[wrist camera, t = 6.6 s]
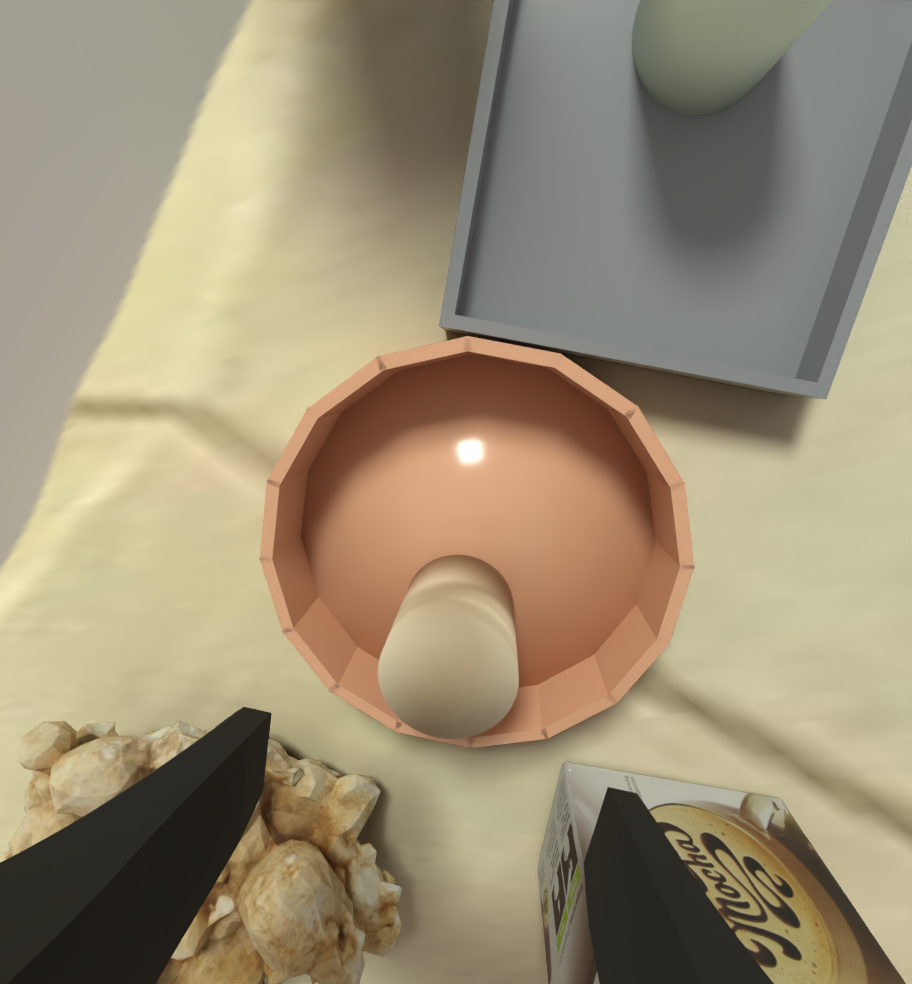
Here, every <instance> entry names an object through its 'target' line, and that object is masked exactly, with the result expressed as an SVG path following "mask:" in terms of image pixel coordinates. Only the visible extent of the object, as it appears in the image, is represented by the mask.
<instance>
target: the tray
mask: <svg viewBox="0 0 912 984" xmlns="http://www.w3.org/2000/svg"><path fill="white" fill-rule="evenodd" d="M640 1H641V0H494V3H493V9H492V15H491V21H490V27H489V33H488V39H487V45H486V51H485V57H484V62H483V68H482V74H481V80H480V86H479V92H478V98H477V104H476V110H475V116H474V122H473V128H472V134H471V140H470V146H469V152H468V158H467V163H466V169H465V175H464V181H463V187H462V193H461V199H460V205H459V211H458V217H457V223H456V229H455V235H454V241H453V247H452V253H451V259H450V265H449V270H448V276H447V282H446V288H445V294H444V300H443V306H442V312H441V318H440V324H439V326H440V327H441V328H443V329H444V330H445V331H450V332H455V333H460V334H465V335H471V336H476V337H481V338H487V339H492V340H497V341H503V342H508V343H513V344H518V345H524V346H529V347H534V348H540V349H545V350H550V351H555V352H561V353H566V354H571V355H577V356H582V357H587V358H592V359H598V360H603V361H608V362H614V363H619V364H624V365H629V366H635V367H640V368H645V369H651V370H656V371H661V372H666V373H672V374H677V375H682V376H688V377H693V378H698V379H703V380H709V381H714V382H719V383H725V384H730V385H735V386H741V387H746V388H751V389H756V390H762V391H767V392H772V393H778V394H783V395H788V396H796V397H808V398H820V399H827V396H828V393H829V390H830V388H831V385H832V382H833V379H834V377H835V374H836V371H837V368H838V366H839V363H840V360H841V357H842V355H843V352H844V349H845V347H846V344H847V341H848V338H849V336H850V333H851V330H852V327H853V325H854V322H855V319H856V316H857V314H858V311H859V308H860V305H861V303H862V300H863V297H864V294H865V292H866V289H867V286H868V283H869V281H870V278H871V275H872V273H873V270H874V267H875V264H876V262H877V259H878V256H879V253H880V251H881V248H882V245H883V242H884V240H885V237H886V234H887V231H888V229H889V226H890V223H891V220H892V218H893V215H894V212H895V209H896V207H897V204H898V201H899V199H900V196H901V193H902V190H903V188H904V185H905V182H906V179H907V177H908V174H909V171H910V168H911V166H912V0H832V1H831V2H830V3H829V5H828V6H827V7H826V8H825V9H824V10H823V11H822V12H821V13H820V15H819V16H818V17H817V18H816V19H815V20H814V21H813V22H812V23H811V25H810V26H809V27H808V28H807V29H806V30H805V31H804V32H803V33H802V35H801V36H800V37H799V38H798V39H797V40H796V41H795V42H794V43H793V45H792V46H791V47H790V48H789V49H788V50H787V51H786V52H785V53H784V55H783V56H782V57H781V58H780V59H779V60H778V61H777V62H776V63H775V65H774V66H773V67H772V68H771V69H770V70H769V71H768V72H767V73H766V75H765V76H764V77H763V78H762V79H761V80H760V81H759V82H758V83H757V85H756V86H755V87H754V88H753V89H752V90H751V91H750V92H749V93H748V94H746V95H745V96H744V97H743V98H742V99H740V100H739V101H737V102H736V103H734V104H733V105H731V106H729V107H727V108H725V109H723V110H720V111H717V112H714V113H709V114H704V115H687V114H682V113H678V112H675V111H672V110H670V109H667V108H666V107H664V106H663V105H661V104H659V103H658V102H657V101H656V100H655V99H654V98H653V97H652V96H651V95H650V94H649V93H648V92H647V91H646V89H645V87H644V86H643V84H642V83H641V81H640V78H639V76H638V74H637V71H636V68H635V65H634V60H633V54H632V31H633V25H634V19H635V16H636V12H637V9H638V6H639V4H640Z"/></svg>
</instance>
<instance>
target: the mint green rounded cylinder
mask: <svg viewBox="0 0 912 984" xmlns="http://www.w3.org/2000/svg"><path fill="white" fill-rule="evenodd" d="M831 1H832V0H641V1H640V4H639V6H638V9H637V12H636V16H635V19H634V25H633V31H632V54H633V60H634V65H635V68H636V71H637V74H638V76H639V78H640V81H641V83H642V84H643V86H644V87H645V89H646V91H647V92H648V93H649V94H650V95H651V96H652V97H653V98H654V99H655V100H656V101H657V102H658V103H659V104H661V105H663V106H664V107H666V108H667V109H670V110H672V111H675V112H678V113H682V114H687V115H704V114H709V113H714V112H717V111H720V110H723V109H725V108H727V107H729V106H731V105H733V104H734V103H736V102H737V101H739V100H740V99H742V98H743V97H744V96H745V95H746V94H748V93H749V92H750V91H751V90H752V89H753V88H754V87H755V86H756V85H757V83H758V82H759V81H760V80H761V79H762V78H763V77H764V76H765V75H766V73H767V72H768V71H769V70H770V69H771V68H772V67H773V66H774V65H775V63H776V62H777V61H778V60H779V59H780V58H781V57H782V56H783V55H784V53H785V52H786V51H787V50H788V49H789V48H790V47H791V46H792V45H793V43H794V42H795V41H796V40H797V39H798V38H799V37H800V36H801V35H802V33H803V32H804V31H805V30H806V29H807V28H808V27H809V26H810V25H811V23H812V22H813V21H814V20H815V19H816V18H817V17H818V16H819V15H820V13H821V12H822V11H823V10H824V9H825V8H826V7H827V6H828V5H829V3H830V2H831Z"/></svg>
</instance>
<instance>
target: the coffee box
mask: <svg viewBox="0 0 912 984" xmlns="http://www.w3.org/2000/svg"><path fill="white" fill-rule="evenodd" d="M608 787H611V788H615V789H620V790H624V791H629V792H633V793H637V794H638V795H639V797H640V798H641V800H642V801H643V803H644V804H645V805H646V807H647V808H648V810H649V811H650V813H651V814H652V816H653V817H654V819H655V820H656V822H657V823H658V825H659V826H660V828H661V829H662V831H663V832H664V834H665V835H666V837H667V838H668V840H669V841H670V843H671V844H672V846H673V847H674V849H675V850H676V852H677V853H678V855H679V856H680V858H681V859H682V860H683V862H684V863H685V865H686V866H687V868H688V869H689V871H690V872H691V873H692V875H693V876H694V878H695V879H696V881H697V882H698V883H699V885H700V886H701V888H702V889H703V891H704V892H705V893H706V895H707V896H708V898H709V899H710V900H711V902H712V903H713V905H714V906H715V907H716V909H717V910H718V911H719V913H720V914H721V915H722V917H723V918H724V920H725V921H726V922H727V924H728V925H729V926H730V928H731V929H732V930H733V932H734V933H735V934H736V936H737V937H738V938H739V939H740V941H741V942H742V943H743V945H744V946H745V947H746V949H747V950H748V951H749V952H750V954H751V955H752V956H753V958H754V959H755V960H756V962H757V963H758V964H759V965H760V967H761V968H762V969H763V971H764V972H765V973H766V974H767V976H768V977H769V978H770V979H771V981H772V982H773V983H774V984H906V983H905V982H904V980H903V979H902V977H901V976H900V974H899V973H898V972H897V970H896V969H895V967H894V966H893V964H892V963H891V962H890V960H889V959H888V957H887V956H886V954H885V953H884V951H883V950H882V948H881V947H880V945H879V944H878V942H877V941H876V939H875V938H874V936H873V935H872V933H871V932H870V931H869V929H868V927H867V926H866V924H865V923H864V921H863V920H862V918H861V917H860V915H859V914H858V912H857V911H856V909H855V908H854V906H853V905H852V903H851V902H850V901H849V899H848V898H847V896H846V895H845V893H844V892H843V890H842V889H841V887H840V886H839V884H838V883H837V881H836V880H835V878H834V877H833V875H832V874H831V873H830V871H829V870H828V868H827V867H826V865H825V864H824V862H823V861H822V859H821V858H820V856H819V855H818V853H817V852H816V850H815V849H814V847H813V846H812V844H811V843H810V842H809V840H808V839H807V837H806V836H805V834H804V833H803V831H802V830H801V828H800V827H799V825H798V824H797V822H796V821H795V819H794V818H793V816H792V815H791V813H790V812H789V810H788V808H787V807H786V805H785V804H784V802H783V801H782V800H781V799H779V798H774V797H769V796H763V795H757V794H751V793H746V792H740V791H734V790H728V789H722V788H717V787H711V786H705V785H699V784H693V783H687V782H681V781H676V780H670V779H664V778H658V777H652V776H646V775H640V774H634V773H628V772H622V771H616V770H610V769H604V768H599V767H593V766H587V765H581V764H576V763H569V762H565V763H564V764H563V766H562V769H561V773H560V777H559V781H558V785H557V789H556V794H555V798H554V802H553V805H552V810H551V814H550V818H549V822H548V826H547V831H546V835H545V839H544V843H543V847H542V852H541V856H540V861H539V866H538V877H539V886H540V896H541V905H542V916H543V926H544V937H545V947H546V960H547V970H548V981H549V984H600V983H599V978H598V973H597V967H596V962H595V956H594V951H593V946H592V940H591V934H590V929H589V922H588V912H587V901H586V890H585V876H584V860H585V857H586V854H587V851H588V848H589V845H590V841H591V838H592V835H593V832H594V829H595V826H596V822H597V819H598V816H599V813H600V810H601V807H602V804H603V800H604V797H605V794H606V791H607V788H608Z"/></svg>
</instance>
